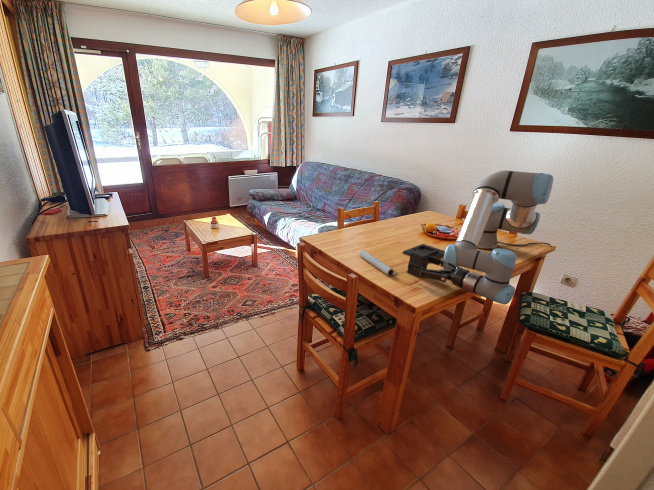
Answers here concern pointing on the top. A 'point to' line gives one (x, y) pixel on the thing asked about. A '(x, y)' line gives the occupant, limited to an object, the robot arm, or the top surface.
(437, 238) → the top surface
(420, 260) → the black rectangular block
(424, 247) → the base pad
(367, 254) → the aluminum foil
